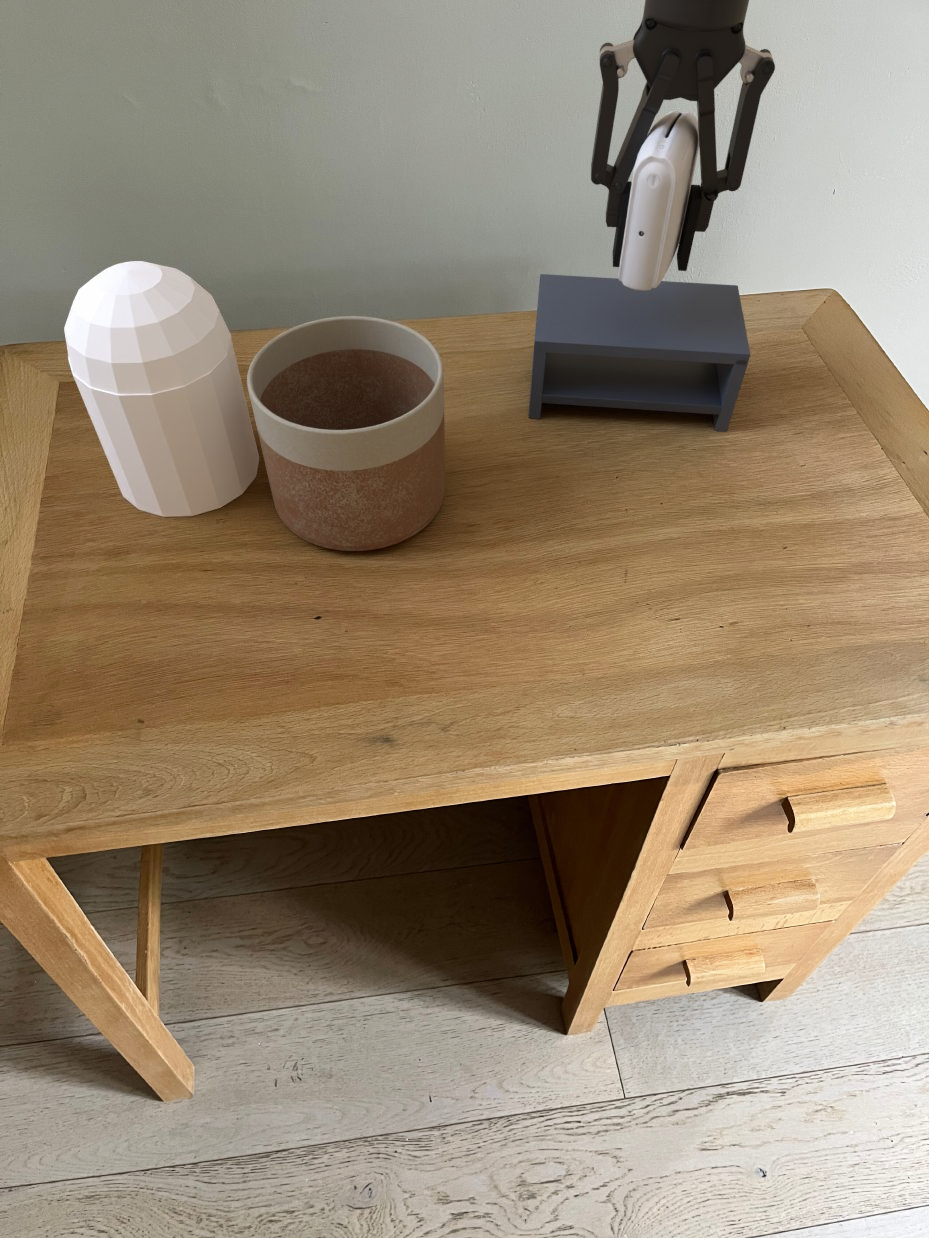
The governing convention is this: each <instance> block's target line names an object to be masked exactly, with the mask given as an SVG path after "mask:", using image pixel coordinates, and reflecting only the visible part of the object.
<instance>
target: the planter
mask: <svg viewBox="0 0 929 1238" xmlns="http://www.w3.org/2000/svg"><path fill="white" fill-rule="evenodd" d="M444 373H445V372H444V363H443V360H442V357H441V354H440V353H439V351H438V350H437V348H436V347H435V345H434V344H433V343H432V342H431V341H430V340H429V339H427V338H426V337H425V336H424V335H422V334H421V333H420V332H418V331H416V330H415V329H413V328H411V327H409V326H407V325H404V324H402V323H399V322H396V321H392V320H388V319H384V318H379V317H373V316H361V315H346V316H345V315H344V316H343V315H342V316H332V317H325V318H320V319H315V320H312V321H308V322H305V323H302V324H298V325H297V326H296V325H295V326H293V327H292V328H289V329H287V330H285V331H283V332H281V333H280V334H277V335H276V336H275V337H273V338H272V339H270V340H269V341H268V342H267V343H265V344H264V345H263V346H262V347H261V348H260V350H258V351H257V352H256V354H255V356H254V357H253V359H252V360H251V362H250V364H249V367H248V370H247V375H246V386H247V391H248V396H249V400H250V403H251V408H252V413H253V417H254V421H255V422H254V423H255V425H256V431H257V434H258V439H259V444H260V448H261V452H262V456H263V461H264V465H265V469H266V474H267V478H268V482H269V487H270V492H271V496H272V500H273V504H274V505H273V506H274V508H275V511H276V513H277V515H278V517H279V518H280V520H281V521H282V523H283V524H284V525H285V526H286V527H287V528H288V530H289V531H291V532H292V533H293V534H295V535H296V536H297V537H298V538H300V539H303V540H304V541H306V542H308V543H310V544H313V545H315V546H318V547H322V548H325V549H330V550H334V551H342V552H343V551H344V552H365V551H373V550H380V549H383V548H386V547H389V546H390V547H391V546H393V545H396V544H399V543H401V542H403V541H405V540H408V539H410V538H411V537H413V536H415V535H417V534H418V533H419V532H420V531H422V530H423V529H425V528H426V527H427V526H428V525H429V524H430V523H431V522H432V521H433V519H435V517H436V515H437V514H438V513H439V511H440V509H441V507H442V505H443V502H444V499H445V496H446V448H445V447H446V446H445V445H446V444H445V443H446V442H445V435H446V434H445V384H444V383H445V382H444V381H445V380H444V379H445V378H444V377H445V376H444Z"/></svg>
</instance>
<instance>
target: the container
mask: <svg viewBox="0 0 929 1238" xmlns="http://www.w3.org/2000/svg"><path fill="white" fill-rule="evenodd" d="M63 331H64V336H65V344H66V350H67V360H68V364H69V366H70V367H69V368H70V370H71V374H72V378H73V379H74V381H75V384H76V386H77V389H78V391H79V393H80V396H81V399H82V401H83V403H84V405H85V408H86V411H87V413H88V416H89V418H90V421H91V422H92V425H93V427H94V430H95V433H96V435H97V437H98V440H99V443H100V445H101V447H102V449H103V451H104V455H105V456H106V459H107V461H108V464H109V466H110V469H111V471H112V473H113V476H114V479H115V481H116V483H117V486H118V488H119V491H120V493H121V495H122V497H123V498H124V499H125V500H127V501H128V502H129V503H130V504H131V505H132V506H134V507H135V508H136V509H137V510H139V511H142V512H145V513H149V514H151V515H155V516H159V517H163V518H166V517H167V518H169V517H194V516H198V515H200V514H205V513H208V512H210V511H214V510H218V509H221V508H222V507H224V506H225V505H227V504H229V503H230V502H233V501H234V500H235V499H237V498H238V497H240V496H241V495H243V494H244V493H245V492H246V491H247V489H248V488H249V486H250V485H251V484H252V483H253V481H254V480H255V479H256V478H257V474H258V469H259V462H260V456H259V450H258V446H257V443H256V438H255V432H254V429H253V425H252V421H251V417H250V416H251V415H250V412H249V408H248V404H247V400H246V395H245V391H244V386H243V382H242V378H241V374H240V370H239V369H240V368H239V366H238V361H237V356H236V354H235V348H234V344H233V340H232V333H231V332H230V330H229V327H228V326H227V323H226V322H225V319H224V317H223V315H222V314H221V311H220V309H219V307H218V305H217V303H216V302H215V299H214V296H213V295H212V294H211V293H210V292H208V291H207V290H206V289H205V288H204V287H202V285H200V284H199V283H198V282H196V281H195V280H194V279H193V278H192V277H191V276H190V275H187V274H186V273H184V272H183V271H182V270H180V269H178V268H177V267H176V268H175V267H170V266H166V265H162V264H157V263H152V262H148V261H143V260H137V261H136V260H132V261H131V260H130V261H129V260H128V261H125V262H119V263H116V264H114V265H111V266H109V267H107V268H105V269H103V270H102V271H100V272H99V273H98V274H96V275H95V276H93V277H92V278H91V279H90V280H89V281H87V282H86V283H85V284H83V285H82V286H81V287H80V288H79V289H78V290H77V292H76V294H75V297H74V298H73V301H72V304H71V307H70V309H69V312H68V316H67V319H66V322H65V324H64V327H63Z"/></svg>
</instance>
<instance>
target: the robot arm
mask: <svg viewBox="0 0 929 1238" xmlns="http://www.w3.org/2000/svg"><path fill="white" fill-rule="evenodd" d="M749 2H750V0H644V6H643V15H642V19H641V22H640V24H639V26H638V28H637V30H636V31H635V33H634V35H633V38H632V39H630V40H628V41H625V42H622V43H618V44H615V45H614V44H613V43H611V42H605V43H602V45H601V46H600V49H599V68H600V74H601V79H602V85H601V93H600V100H599V108H598V114H597V121H596V128H595V134H594V135H595V136H594V142H593V149H592V155H591V163H590V164H591V165H590V181H591V182H592V183H593V184H594V185H599V186H600V185H602V186H604V187H605V188H607V190H608V193H607V194H608V195H607V201H606V202H607V203H606V210H605V223H606V227H607V228H615V231H614V232H615V233H614V239H613V245H612V268H619V266H620V259H621V253H622V246H623V239H624V232H625V226H626V219H627V212H628V205H629V198H630V191H631V185H632V180H630V181H629V179H630V177H631V175H632V173H633V171H634V167H635V163H636V159H637V156H638V153H639V151H640V149H641V146H642V145H643V143H644V142H645V139H646V137H647V135H648V134H649V132H650V130H651V129H652V126H653V123H654V122H655V118H656V116H657V115H658V113H659V112H660V109H661V107H662V105H663V103H664V101H672V100H677V99H683V100H686V101H689V102H696V111H697V120H698V131H699V150H698V151H699V166H700V167H699V168H700V184H692V185H691V188H690V193H689V198H688V203H687V208H686V212H685V217H684V222H683V227H682V232H681V236H680V241H679V245H678V248H677V250H676V262H677V271H678V272H687V271H688V267H689V261H690V257H691V252H692V247H693V243H694V238H695V234H696V232H698V233H705V232H706V231H707V229H708V228H709V225H710V221H711V218H712V217H711V216H712V213H713V212H712V211H713V207H714V205H715V204H714V203H715V201H717V199H718V198H719V194H721V193H723V192H726V191H729V192H736V191H737V190H739V189H740V187H741V186H742V181H743V177H744V172H745V169H746V163H747V159H748V155H749V150H750V146H751V141H752V137H753V132H754V127H755V124H756V119H757V115H758V110H759V106H760V101H761V97H762V95H763V92H764V90H765V89H766V87H767V85H768V84H769V82H770V80H771V79H772V76H773V74H774V73H775V70H776V64H775V61H774V59H773V55H772V53H771V50H769V49H767V48H763V49H760V50H758V49H755V48H754V47H751V46H749V45H748V44H746V40H745V35H744V25H745V22H746V21H745V20H746V16H747V13H748V8H749ZM634 59H635V60H636V62H637V64H638V66H639V69H640V71H641V72H642V74H643V76H644V78H645V81H646V82H645V84H644V87H643V89H642V93H641V97H640V100H639V102H638V106H637V107H636V110H635V113H634V115H633V117H632V120H631V122H630V124H629V127H628V130H627V132H626V135H625V138H624V139H623V141H622V144H621V147H620V149H619V151H618V154H617V157H616V159H615V161H614V164H613V165H611V164H610V163H608V161H609V156H610V149H611V143H612V136H613V130H614V123H615V118H616V112H617V104H618V99H619V88H620V87H619V85H620V84H619V83H620V81H619V79H622V78H624V77H625V76H626V75H627V73H628V70H629V65H630V62H631V61H632V60H634ZM738 64H740V69H739V75H740V79H741V81H742V83H741V87H740V91H739V95H738V96H739V97H738V101H737V105H736V106H737V107H736V111H735V116H734V119H733V125H732V131H731V134H730V139H729V146H728V149H727V155H726V158H725V164H724V168H723V169H720V170H718V164H717V163H718V162H717V161H718V160H717V137H716V99H715V90H716V88H717V87H718V86H719V85H720V83H722V81H723V80H725V78H726V77H727V76H728V75H729V74H730V73H731V71H732V70H733V69H734V68H735V67H736V66H737V65H738Z"/></svg>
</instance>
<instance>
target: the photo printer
mask: <svg viewBox="0 0 929 1238" xmlns="http://www.w3.org/2000/svg"><path fill="white" fill-rule="evenodd" d="M699 151H700V150H699V131H698V118H697V117H696V116H695V115H694V114H693V113H692V112H691V111H685V112H684V111H681V110H679V109H674V110H671V111H668V112H667V113H665V114H664V115H662V116H661V117H660V118H659V119H658V120H657V121H656V123H654V124H653V125H652V126H651V128H650V130H649V132H648V135H647V137H646V139H645V142H644V143H643V145H642V146H641V149H640V151H639V153H638V156H637V159H636V163H635V165H634V168H633V170H632V177H631V178H632V179H631V182H632V185H631V191H630V198H629V205H628V212H627V219H626V226H625V232H624V239H623V246H622V253H621V259H620V266H619V267H618V279H619V281H621V282H622V283H623V285H624V286H626V287H628V288H631V289H634V290H641V291H647V290H651V289H652V288H656V287H657V286H658V285H659V284H660V283H661V281H663V280H664V278H665V276H666V274H667V272H668V270H669V268H670V266H671V264H672V262H673V259H674V258H675V256H676V253H677V251H678V246H679V241H680V236H681V232H682V227H683V222H684V217H685V212H686V208H687V203H688V198H689V193H690V188H691V185H693V181H694V175H695V169H696V164H697V160H698V155H699Z"/></svg>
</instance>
